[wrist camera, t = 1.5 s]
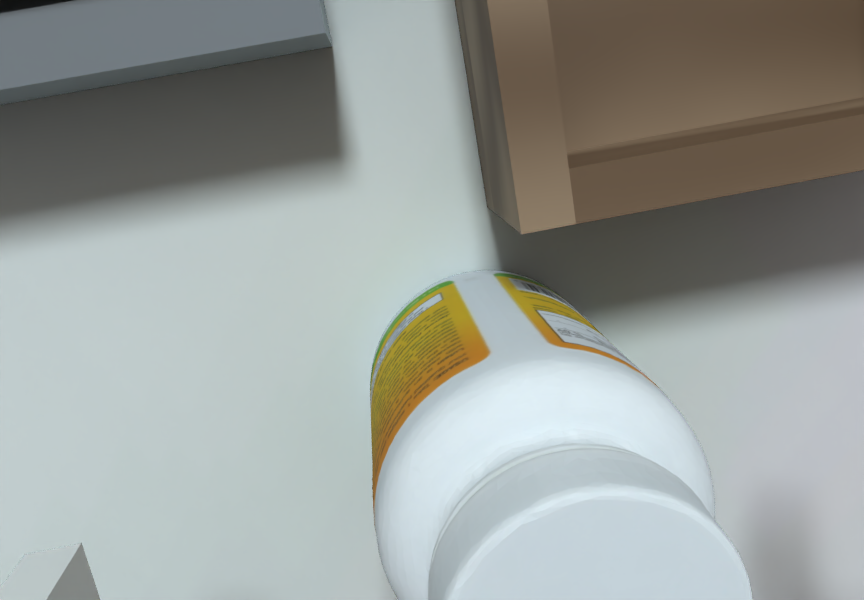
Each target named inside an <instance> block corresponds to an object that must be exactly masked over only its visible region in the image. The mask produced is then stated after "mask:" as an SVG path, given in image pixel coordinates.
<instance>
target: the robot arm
mask: <svg viewBox="0 0 864 600" xmlns="http://www.w3.org/2000/svg"><path fill="white" fill-rule="evenodd" d="M0 600H100V597H99V594H98V591H97V588H96V585H95V582H94V579H93V576H92V573H91V570H90V567H89V564H88V561H87V558H86V555H85V552H84V549H83V546H82V543H79V544H74V545H69V546H64V547H59V548H54V549H49V550H43V551H38V552H33V553H28V554H25V555H24V556H23V557H22V559H21V560H20V561H19V563H18V564H17V565H16V567H15V568H14V570H13V571H12V572H11V574H10V575H9V576H8V578H7V579H6V581H5V582H4V583H3V585H2V586H1V587H0Z"/></svg>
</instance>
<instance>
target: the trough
mask: <svg viewBox="0 0 864 600" xmlns="http://www.w3.org/2000/svg"><path fill="white" fill-rule="evenodd" d="M455 4H456V10H457V17H458V23H459V29H460V36H461V42H462V49H463V55H464V61H465V68H466V74H467V80H468V87H469V93H470V100H471V106H472V112H473V119H474V125H475V131H476V138H477V144H478V150H479V157H480V163H481V170H482V176H483V182H484V189H485V195H486V201H487V207H488V208H489V209H490V210H492V211H493V212H494V213H495V214H497V215H498V216H499V217H500V218H502V219H503V220H504V221H505V222H507V223H508V224H509V225H510V226H512V227H513V228H514V229H515V230H517V231H518V232H519V233H520V234H526V233H532V232H537V231H542V230H548V229H553V228H558V227H564V226H569V225H574V224H580V223H585V222H590V221H596V220H601V219H606V218H612V217H617V216H622V215H627V214H633V213H638V212H643V211H649V210H654V209H659V208H665V207H670V206H675V205H681V204H686V203H691V202H697V201H702V200H707V199H713V198H718V197H723V196H729V195H734V194H739V193H745V192H750V191H755V190H761V189H766V188H771V187H777V186H782V185H787V184H792V183H798V182H803V181H808V180H814V179H819V178H824V177H830V176H835V175H840V174H846V173H851V172H856V171H862V170H864V0H455Z"/></svg>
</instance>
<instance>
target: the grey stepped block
mask: <svg viewBox="0 0 864 600" xmlns="http://www.w3.org/2000/svg"><path fill="white" fill-rule="evenodd" d="M326 47H332V42H331V37H330V32H329V26H328V21H327V16H326V11H325V6H324V1H323V0H0V105H3V104H9V103H14V102H20V101H26V100H31V99H37V98H43V97H48V96H54V95H60V94H65V93H71V92H77V91H82V90H88V89H94V88H99V87H105V86H111V85H116V84H122V83H128V82H133V81H139V80H145V79H150V78H156V77H162V76H167V75H173V74H179V73H184V72H190V71H196V70H201V69H207V68H213V67H218V66H224V65H230V64H235V63H241V62H247V61H252V60H258V59H264V58H269V57H275V56H281V55H286V54H292V53H298V52H303V51H309V50H315V49H320V48H326Z"/></svg>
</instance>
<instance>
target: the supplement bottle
mask: <svg viewBox="0 0 864 600" xmlns="http://www.w3.org/2000/svg"><path fill="white" fill-rule="evenodd" d="M370 404H371V431H372V460H373V478H372V481H373V487H372V489H373V508H374V525H375V530H376V536H377V542H378V549H379V554H380V558H381V562H382V565H383V568H384V571H385V573H386V576H387V579H388V581H389V583H390V585H391V587H392V589H393V591H394V593H395V595H396V596H397V598H398V600H753V597H752V591H751V586H750V581H749V577H748V574H747V571H746V569H745V566H744V564H743V562H742V559H741V557H740V554H739V553H738V551H737V549H736V548H735V546H734V545H733V543H732V542H731V540H730V539H729V538H728V536H727V535H726V534H725V532H724V531H723V530H722V528H721V527H720V526H719V524H718V523H717V522H716V520H715V497H714V488H713V482H712V477H711V472H710V469H709V465H708V462H707V459H706V457H705V454H704V452H703V449H702V447H701V445H700V443H699V441H698V439H697V437H696V435H695V433H694V431H693V430H692V428H691V427H690V425H689V424H688V422H687V421H686V419H685V418H684V416H683V415H682V413H681V412H680V411H679V410H678V409H677V408H676V406H675V405H674V404H673V403H672V402H671V400H670V399H669V398H668V397H667V396H666V394H665V393H664V392H663V391H662V390H661V389H660V388H659V387H658V386H657V385H656V384H655V383H653V382H652V381H651V380H650V379H649V378H648V377H647V376H646V375H645V374H644V373H643V372H642V371H641V370H640V369H638V368H637V367H636V366H635V365H634V364H633V363H632V362H631V361H630V360H629V359H628V358H626V357H625V356H624V355H623V354H622V353H621V352H620V351H619V350H618V349H617V348H616V347H614V346H613V345H612V344H611V343H610V342H609V340H607V339H606V338H605V337H604V336H603V335H602V334H601V333H600V332H599V331H598V330H597V329H596V328H595V327H594V326H593V325H592V324H590V323H589V322H588V321H587V320H586V319H585V318H584V317H583V316H582V315H581V314H580V313H579V312H578V311H577V310H576V309H575V308H574V307H573V306H572V305H571V304H569V303H568V302H567V301H566V300H565V299H564V298H562V297H561V296H560V295H558V294H557V293H555V292H554V291H553V290H551V289H550V288H548V287H546V286H545V285H543V284H541V283H539V282H537V281H535V280H533V279H530V278H528V277H525V276H522V275H518V274H514V273H510V272H505V271H496V270H483V271H472V272H465V273H461V274H457V275H454V276H451V277H448V278H445V279H443V280H440V281H438V282H436V283H434V284H432V285H431V286H429V287H427V288H426V289H424V290H422V291H421V292H420V293H418V294H417V295H416V296H414V297H413V298H412V299H411V300H409V301H408V302H407V303H406V304H405V305H404V306H403V307H402V308H401V309H400V310H399V311H398V312H397V314H396V315H395V316H394V317H393V319H392V320H391V321H390V323H389V324H388V326H387V328H386V329H385V331H384V333H383V335H382V337H381V339H380V341H379V344H378V347H377V349H376V352H375V356H374V360H373V365H372V372H371V382H370Z"/></svg>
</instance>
